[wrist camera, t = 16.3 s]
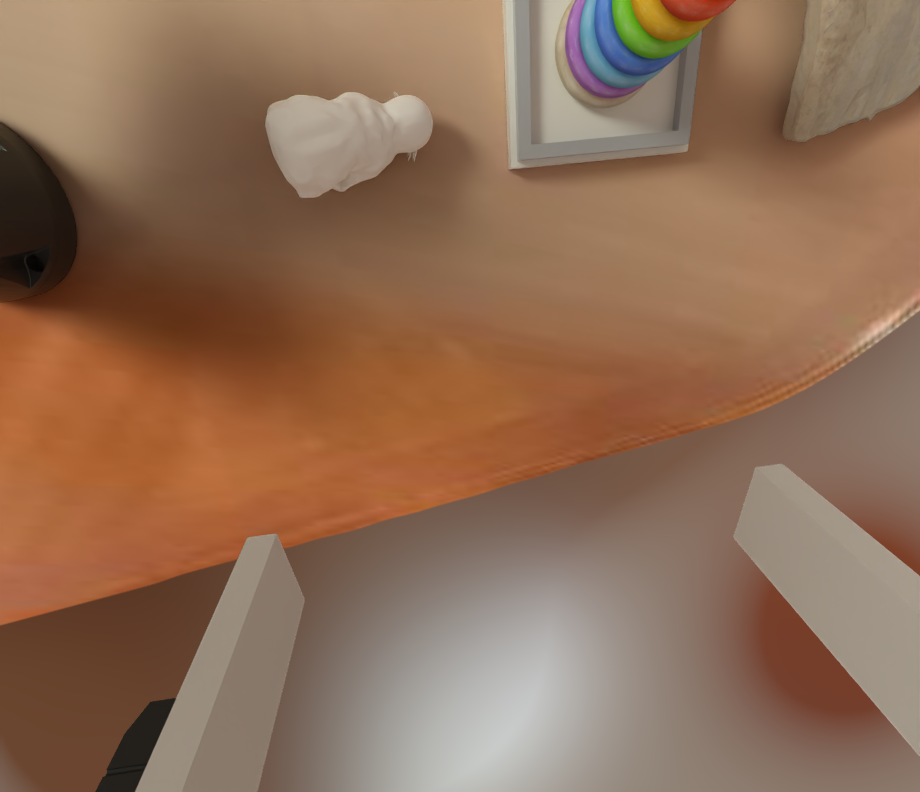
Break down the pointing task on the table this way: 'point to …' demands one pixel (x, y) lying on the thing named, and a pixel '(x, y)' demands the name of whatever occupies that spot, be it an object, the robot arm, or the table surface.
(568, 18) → the stacking toy
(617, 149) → the tray
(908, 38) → the tablet
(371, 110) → the lumpy white figurine
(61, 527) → the table surface
